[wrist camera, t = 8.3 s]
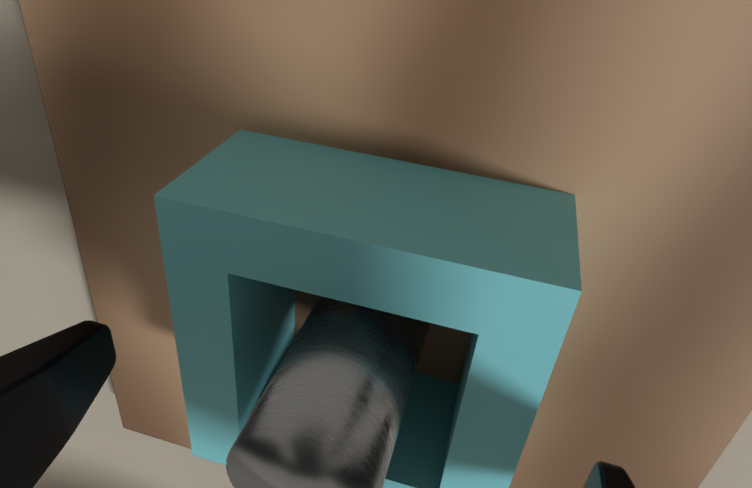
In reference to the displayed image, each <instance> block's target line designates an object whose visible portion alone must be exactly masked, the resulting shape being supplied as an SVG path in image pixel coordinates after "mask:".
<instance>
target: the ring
mask: <svg viewBox="0 0 752 488" xmlns="http://www.w3.org/2000/svg"><path fill="white" fill-rule="evenodd" d="M153 196H154V203H155V209H156V216H157V222H158V229H159V236H160V242H161V249H162V256H163V262H164V269H165V275H166V282H167V289H168V295H169V302H170V309H171V315H172V322H173V328H174V335H175V342H176V348H177V355H178V362H179V368H180V375H181V381H182V388H183V395H184V401H185V408H186V415H187V421H188V428H189V434H190V441H191V448H192V454H193V455H194V456H197V457H200V458H204V459H207V460H210V461H213V462H216V463H220V464H223V465H226V459H227V455H228V453H229V451H230V449H231V447H232V446H233V444H234V442H235V441H236V439H237V437H238V435H239V434H240V432H241V430H242V428H243V427H244V425H245V423H246V422H247V420H248V418H249V416H250V415H251V413H252V411H253V410H254V408H255V406H256V404H257V403H258V401H259V399H260V398H261V396H262V394H263V392H264V391H265V389H266V387H267V385H268V384H269V382H270V380H271V379H272V377H273V375H274V373H275V372H276V370H277V368H278V367H279V365H280V363H281V361H282V360H283V358H284V356H285V355H286V353H287V351H288V349H289V348H290V346H291V344H292V342H293V341H294V338H295V290H298V291H302V292H306V293H310V294H314V295H318V296H322V297H327V298H331V299H335V300H339V301H343V302H347V303H351V304H355V305H359V306H363V307H367V308H371V309H376V310H380V311H384V312H388V313H392V314H396V315H400V316H404V317H408V318H412V319H416V320H421V321H425V322H429V323H433V324H437V325H441V326H445V327H449V328H453V329H457V330H461V331H465V332H470V333H472V334H471V338H470V342H469V346H468V350H467V354H466V358H465V363H464V367H463V371H462V375H461V379H460V383H455V382H451V381H447V380H444V379H440V378H436V377H432V376H428V375H424V374H421V373H417V372H416V373H415V377H414V380H413V384H412V387H411V391H410V394H409V398H408V401H407V405H406V408H405V412H404V415H403V419H402V422H401V426H400V429H399V432H398V436H397V439H396V443H395V446H394V450H393V453H392V457H391V460H390V464H389V467H388V471H387V474H386V478H385V481H384V485H383V488H509V486H510V483H511V481H512V478H513V475H514V473H515V470H516V467H517V465H518V462H519V459H520V456H521V454H522V451H523V448H524V446H525V443H526V440H527V438H528V435H529V432H530V429H531V427H532V424H533V421H534V419H535V416H536V413H537V411H538V408H539V405H540V403H541V400H542V397H543V394H544V392H545V389H546V386H547V384H548V381H549V378H550V376H551V373H552V370H553V368H554V365H555V362H556V359H557V357H558V354H559V351H560V349H561V346H562V343H563V341H564V338H565V335H566V332H567V330H568V327H569V324H570V322H571V319H572V316H573V314H574V311H575V308H576V306H577V303H578V300H579V297H580V295H581V292H582V287H581V273H580V259H579V244H578V230H577V215H576V201H575V195H573V194H568V193H563V192H558V191H553V190H548V189H543V188H538V187H532V186H527V185H522V184H517V183H512V182H507V181H502V180H497V179H492V178H486V177H481V176H476V175H471V174H466V173H461V172H456V171H451V170H446V169H440V168H435V167H430V166H425V165H420V164H415V163H410V162H405V161H399V160H394V159H389V158H384V157H379V156H374V155H369V154H364V153H359V152H353V151H348V150H343V149H338V148H333V147H328V146H323V145H318V144H313V143H307V142H302V141H297V140H292V139H287V138H282V137H277V136H272V135H267V134H261V133H256V132H251V131H246V130H239V131H238V132H237V133H235V134H234V135H233V136H231V137H230V138H229V139H227V140H226V141H225V142H223V143H222V144H221V145H219V146H218V147H217V148H215V149H214V150H213V151H211V152H210V153H209V154H207V155H206V156H205V157H204V158H202V159H201V160H200V161H198V162H197V163H196V164H194V165H193V166H192V167H190V168H189V169H188V170H186V171H185V172H184V173H182V174H181V175H180V176H178V177H177V178H176V179H174V180H173V181H172V182H170V183H169V184H168V185H166V186H165V187H164V188H162V189H161V190H160V191H159V192H157V193H156V194H155V195H153Z"/></svg>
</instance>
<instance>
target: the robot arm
mask: <svg viewBox="0 0 752 488" xmlns="http://www.w3.org/2000/svg"><path fill="white" fill-rule="evenodd" d="M115 362H116V351H115V347H114V343H113V338H112V334H111V330H110V328H109V327H108V326H107V325H105V324H102V323H98V322H95V321H90V320H89V321H83V322H81V323H78V324H76V325H74V326H71V327H69V328H67V329H64V330H62V331H59V332H57V333H55V334H52V335H50V336H48V337H45V338H43V339H41V340H38V341H36V342H33V343H31V344H29V345H26V346H24V347H22V348H19V349H17V350H15V351H12V352H10V353H7V354H5V355H3V356H0V488H33V487H34V485H35V484H36V483H37V481H38V480H39V479H40V478H41V476H42V475H43V474H44V472H45V471H46V470H47V468H48V467H49V466H50V464H51V463H52V462H53V460H54V459H55V458H56V456H57V455H58V454H59V452H60V451H61V450H62V448H63V447H64V446H65V444H66V443H67V441H68V440H69V439H70V437H71V436H72V434H73V433H74V431H75V430H76V428H77V427H78V425H79V423H80V422H81V420H82V419H83V417H84V415H85V414H86V412H87V410H88V409H89V407H90V405H91V404H92V402H93V401H94V399H95V397H96V396H97V394H98V392H99V391H100V389H101V388H102V386H103V384H104V383H105V381H106V379H107V378H108V376H109V374H110V373H111V371H112V370H113V368H114V365H115ZM583 488H636V487H635V486H634V484H633V482H632V480H631V479H630V477H629V475H628V474H627V472H626V471H625V470H624V469H623V468H622V467H620V466H617V465H614V464H610V463H607V462H603V461H598V462H596V463H595V464H594V466H593V468H592V470H591V472H590V474H589V476H588V478H587V480H586V482H585V484H584V486H583Z"/></svg>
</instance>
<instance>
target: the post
mask: <svg viewBox="0 0 752 488" xmlns="http://www.w3.org/2000/svg"><path fill="white" fill-rule="evenodd" d="M429 325H430V323H429V322H425V321H421V320H416V319H412V318H408V317H404V316H400V315H396V314H392V313H388V312H384V311H380V310H376V309H371V308H367V307H363V306H359V305H355V304H351V303H347V302H343V301H339V300H335V299H331V298H327V297H322V296H319V298H318V299H317V301H316V303H315V305H314V306H313V308H312V310H311V312H310V313H309V315H308V317H307V318H306V320H305V322H304V324H303V325H302V327H301V329H300V330H299V332H298V334H297V336H296V337H295V339H294V341H293V342H292V344H291V346H290V348H289V349H288V351H287V353H286V355H285V356H284V358H283V360H282V361H281V363H280V365H279V367H278V368H277V370H276V372H275V373H274V375H273V377H272V379H271V380H270V382H269V384H268V385H267V387H266V389H265V391H264V392H263V394H262V396H261V398H260V399H259V401H258V403H257V404H256V406H255V408H254V410H253V411H252V413H251V415H250V416H249V418H248V420H247V422H246V423H245V425H244V427H243V428H242V430H241V432H240V434H239V435H238V437H237V439H236V441H235V442H234V444H233V446H232V447H231V449H230V451H229V453H228V455H227V459H226V469H227V474H228V476H229V479H230V481H231V483H232V485H233V487H234V488H383V485H384V481H385V478H386V474H387V471H388V467H389V464H390V460H391V457H392V453H393V450H394V446H395V443H396V439H397V436H398V432H399V429H400V426H401V422H402V419H403V415H404V412H405V408H406V405H407V401H408V398H409V394H410V391H411V387H412V384H413V380H414V377H415V373H416V370H417V367H418V363H419V360H420V356H421V353H422V349H423V346H424V342H425V339H426V335H427V332H428V328H429Z"/></svg>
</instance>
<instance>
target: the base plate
mask: <svg viewBox="0 0 752 488" xmlns="http://www.w3.org/2000/svg"><path fill="white" fill-rule="evenodd" d="M19 4H20V8H21V12H22V16H23V20H24V24H25V28H26V32H27V36H28V41H29V45H30V49H31V53H32V57H33V61H34V65H35V69H36V73H37V77H38V81H39V85H40V90H41V94H42V98H43V102H44V106H45V110H46V114H47V118H48V122H49V126H50V130H51V134H52V138H53V143H54V147H55V151H56V155H57V159H58V163H59V167H60V171H61V175H62V179H63V183H64V187H65V192H66V196H67V200H68V204H69V208H70V212H71V216H72V220H73V224H74V228H75V232H76V236H77V240H78V245H79V249H80V253H81V257H82V261H83V265H84V269H85V273H86V277H87V281H88V285H89V289H90V294H91V298H92V302H93V306H94V310H95V314H96V318H97V322H98V323H102V324H105V325H107V326H108V327H109V328H110V330H111V334H112V338H113V343H114V347H115V351H116V362H115V365H114V368H113V370H112V371H111V373H110V375H111V379H112V383H113V387H114V391H115V396H116V400H117V404H118V408H119V412H120V416H121V420H122V424H123V428H126V429H129V430H132V431H135V432H139V433H142V434H145V435H148V436H152V437H155V438H158V439H161V440H164V441H168V442H171V443H174V444H177V445H181V446H184V447H187V448H190V449H192V448H191V441H190V434H189V428H188V421H187V415H186V408H185V401H184V395H183V388H182V381H181V375H180V368H179V362H178V355H177V348H176V342H175V335H174V328H173V322H172V315H171V309H170V302H169V295H168V289H167V282H166V275H165V269H164V262H163V256H162V249H161V242H160V236H159V229H158V222H157V216H156V209H155V203H154V196H153V195H155V194H156V193H157V192H159V191H160V190H161V189H162V188H164V187H165V186H166V185H168V184H169V183H170V182H172V181H173V180H174V179H176V178H177V177H178V176H180V175H181V174H182V173H184V172H185V171H186V170H188V169H189V168H190V167H192V166H193V165H194V164H196V163H197V162H198V161H200V160H201V159H202V158H204V157H205V156H206V155H207V154H209V153H210V152H211V151H213V150H214V149H215V148H217V147H218V146H219V145H221V144H222V143H223V142H225V141H226V140H227V139H229V138H230V137H231V136H233V135H234V134H235V133H237V132H238V131H239V130H246V131H251V132H256V133H261V134H267V135H272V136H277V137H282V138H287V139H292V140H297V141H302V142H307V143H313V144H318V145H323V146H328V147H333V148H338V149H343V150H348V151H353V152H359V153H364V154H369V155H374V156H379V157H384V158H389V159H394V160H399V161H405V162H410V163H415V164H420V165H425V166H430V167H435V168H440V169H446V170H451V171H456V172H461V173H466V174H471V175H476V176H481V177H486V178H492V179H497V180H502V181H507V182H512V183H517V184H522V185H527V186H532V187H538V188H543V189H548V190H553V191H558V192H563V193H568V194H573V195H575V201H576V215H577V230H578V244H579V259H580V273H581V287H582V292H581V295H580V297H579V300H578V303H577V306H576V308H575V311H574V314H573V316H572V319H571V322H570V324H569V327H568V330H567V332H566V335H565V338H564V341H563V343H562V346H561V349H560V351H559V354H558V357H557V359H556V362H555V365H554V368H553V370H552V373H551V376H550V378H549V381H548V384H547V386H546V389H545V392H544V394H543V397H542V400H541V403H540V405H539V408H538V411H537V413H536V416H535V419H534V421H533V424H532V427H531V429H530V432H529V435H528V438H527V440H526V443H525V446H524V448H523V451H522V454H521V456H520V459H519V462H518V465H517V467H516V470H515V473H514V475H513V478H512V481H511V483H510V486H509V488H583V486H584V484H585V482H586V480H587V478H588V476H589V474H590V472H591V470H592V468H593V466H594V464H595V463H596V462H598V461H603V462H607V463H610V464H614V465H617V466H620V467H622V468H623V469H624V470H625V471H626V472H627V474H628V475H629V477H630V479H631V480H632V482H633V484H634V486H635V487H636V488H698V487H699V485H700V484H701V482H702V481H703V480H704V478H705V477H706V475H707V474H708V472H709V471H710V470H711V468H712V467H713V465H714V464H715V462H716V461H717V459H718V458H719V457H720V455H721V454H722V452H723V451H724V449H725V448H726V447H727V445H728V444H729V442H730V441H731V439H732V438H733V437H734V435H735V434H736V432H737V431H738V429H739V428H740V426H741V425H742V424H743V422H744V421H745V419H746V418H747V416H748V415H749V414H750V412H751V411H752V0H19ZM318 298H319V296H318V295H314V294H310V293H306V292H302V291H298V290H295V337H296V336H297V334H298V332H299V330H300V329H301V327H302V325H303V324H304V322H305V320H306V318H307V317H308V315H309V313H310V312H311V310H312V308H313V306H314V305H315V303H316V301H317V299H318ZM471 334H472V333H470V332H465V331H461V330H457V329H453V328H449V327H445V326H441V325H437V324H433V323H430V325H429V328H428V332H427V335H426V339H425V342H424V346H423V349H422V353H421V356H420V360H419V363H418V367H417V370H416V372H417V373H421V374H424V375H428V376H432V377H436V378H440V379H444V380H447V381H451V382H455V383H460V379H461V375H462V371H463V367H464V363H465V358H466V354H467V350H468V346H469V342H470V338H471ZM294 339H295V338H294Z"/></svg>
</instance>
